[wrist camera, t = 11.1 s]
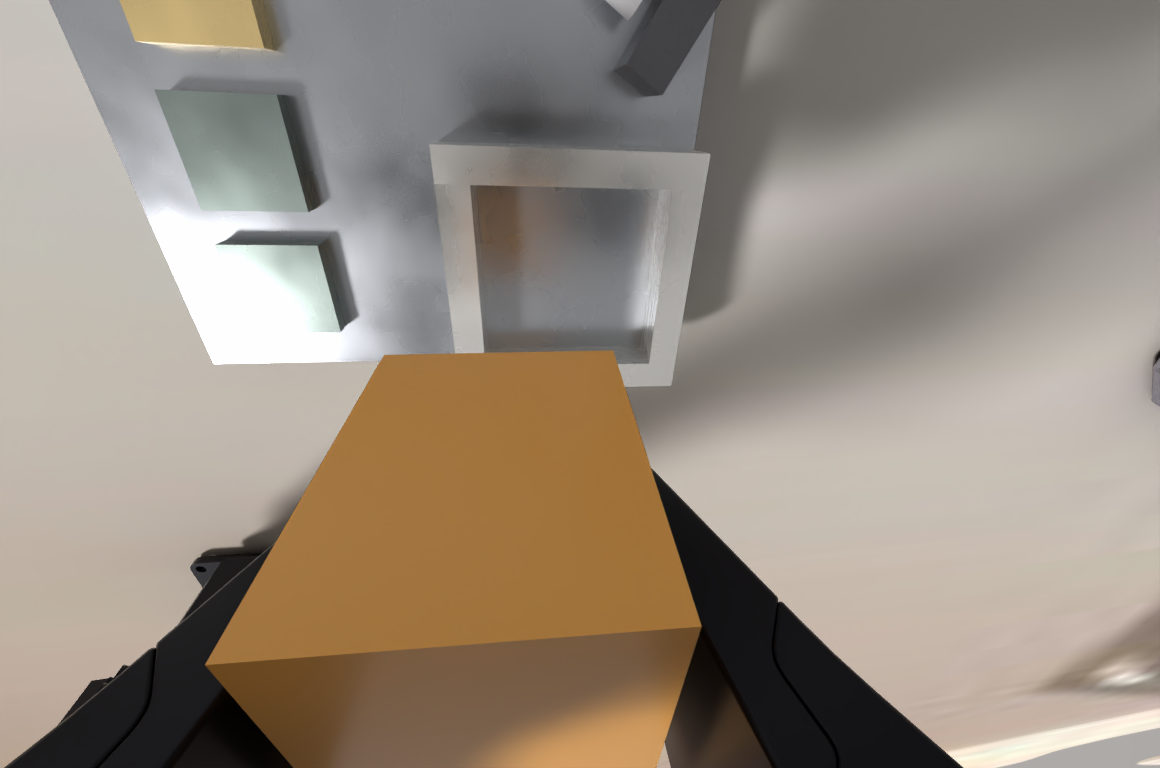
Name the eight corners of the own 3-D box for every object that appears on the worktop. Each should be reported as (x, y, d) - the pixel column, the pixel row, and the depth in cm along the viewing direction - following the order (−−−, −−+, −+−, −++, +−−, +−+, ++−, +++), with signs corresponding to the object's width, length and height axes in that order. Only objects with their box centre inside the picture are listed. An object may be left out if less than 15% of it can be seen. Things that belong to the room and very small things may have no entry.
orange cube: (601, 504, 10) (649, 787, 6) (422, 513, 10) (340, 822, 6) (613, 350, 8) (701, 625, 4) (383, 354, 8) (205, 665, 3)
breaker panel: (651, 345, 20) (677, 392, 17) (247, 351, 18) (184, 405, 15) (721, -176, 12) (799, -290, 9) (2, -261, 10) (-262, -448, 7)
